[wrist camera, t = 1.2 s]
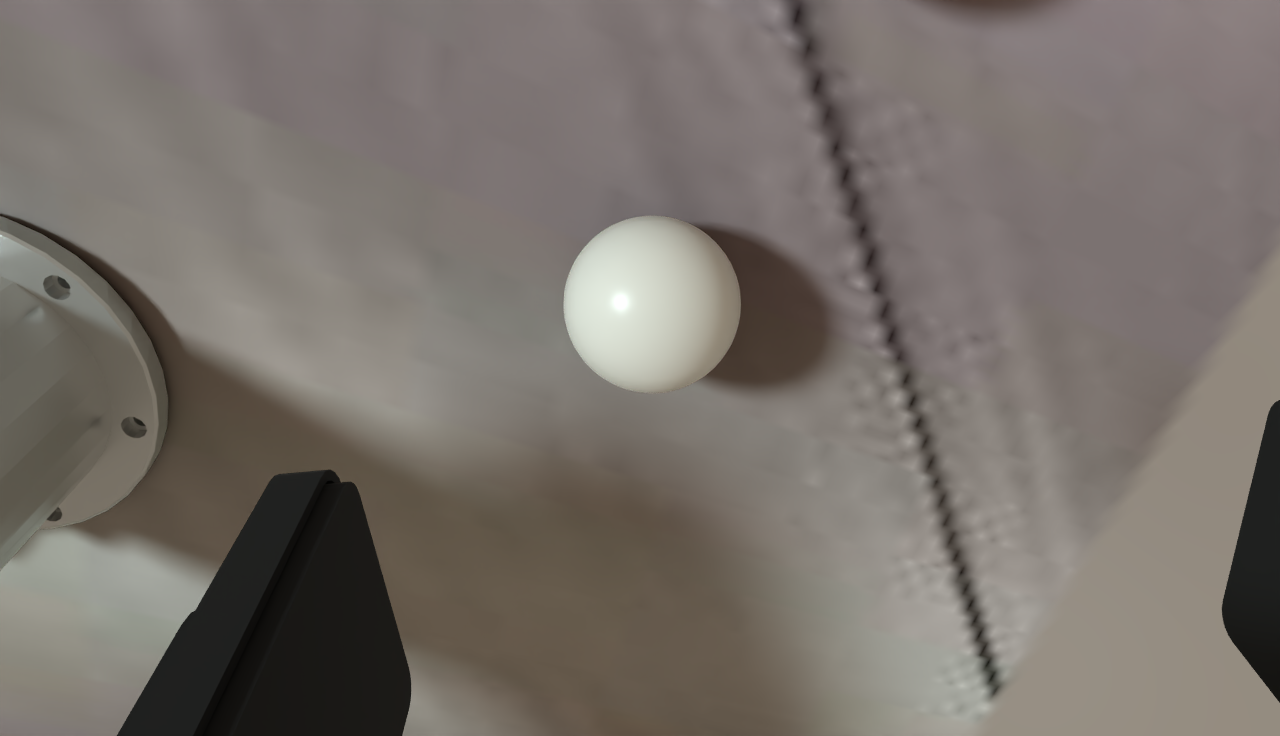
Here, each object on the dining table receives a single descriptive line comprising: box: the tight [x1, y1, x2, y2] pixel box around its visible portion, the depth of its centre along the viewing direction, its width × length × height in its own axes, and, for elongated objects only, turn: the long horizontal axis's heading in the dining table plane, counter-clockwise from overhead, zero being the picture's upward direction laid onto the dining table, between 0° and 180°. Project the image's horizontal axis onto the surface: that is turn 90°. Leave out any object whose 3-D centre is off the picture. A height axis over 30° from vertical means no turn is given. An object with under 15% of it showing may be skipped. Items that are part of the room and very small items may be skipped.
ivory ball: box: [564, 216, 741, 393], centre depth 30 cm, size 6×6×6 cm
